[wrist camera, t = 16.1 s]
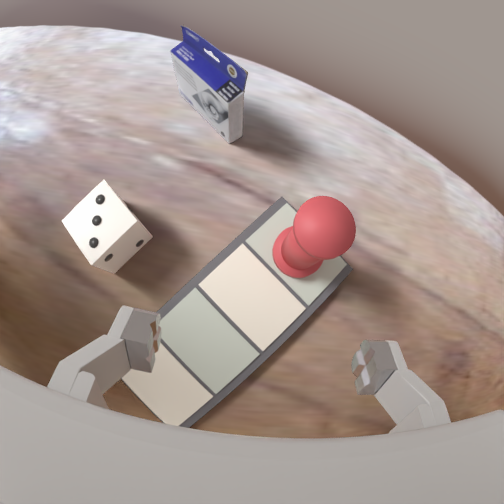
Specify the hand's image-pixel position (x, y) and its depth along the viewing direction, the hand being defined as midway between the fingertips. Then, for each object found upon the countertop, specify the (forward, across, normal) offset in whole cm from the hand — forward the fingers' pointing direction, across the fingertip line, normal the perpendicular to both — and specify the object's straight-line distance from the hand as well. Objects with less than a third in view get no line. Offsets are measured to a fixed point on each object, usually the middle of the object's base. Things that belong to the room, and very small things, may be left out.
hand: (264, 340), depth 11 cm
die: (+19, +15, +9) cm, 26 cm away
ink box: (+31, +8, -4) cm, 32 cm away
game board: (+14, +1, +14) cm, 20 cm away
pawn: (+18, -5, +7) cm, 20 cm away
